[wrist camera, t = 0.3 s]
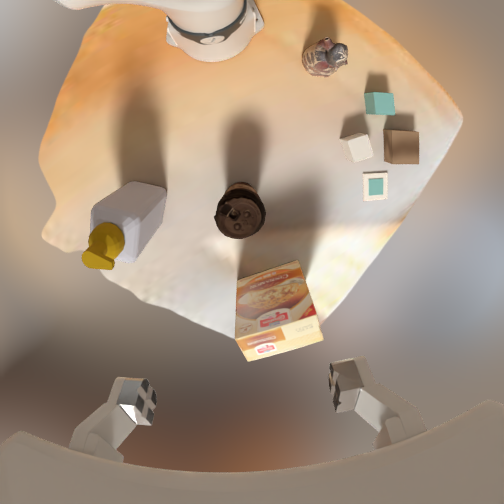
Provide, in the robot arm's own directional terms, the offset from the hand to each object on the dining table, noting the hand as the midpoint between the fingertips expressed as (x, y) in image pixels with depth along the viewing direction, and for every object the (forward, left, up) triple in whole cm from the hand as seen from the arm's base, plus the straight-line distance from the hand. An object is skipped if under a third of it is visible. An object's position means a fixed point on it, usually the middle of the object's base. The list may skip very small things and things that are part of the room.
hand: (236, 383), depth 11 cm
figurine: (-21, +18, -47) cm, 55 cm away
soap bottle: (+3, -21, -47) cm, 52 cm away
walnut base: (-3, +34, -47) cm, 58 cm away
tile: (+6, +28, -47) cm, 55 cm away
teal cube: (-12, +29, -47) cm, 57 cm away
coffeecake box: (+26, +3, -47) cm, 54 cm away
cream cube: (-3, +23, -47) cm, 52 cm away
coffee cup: (+5, -1, -47) cm, 47 cm away
